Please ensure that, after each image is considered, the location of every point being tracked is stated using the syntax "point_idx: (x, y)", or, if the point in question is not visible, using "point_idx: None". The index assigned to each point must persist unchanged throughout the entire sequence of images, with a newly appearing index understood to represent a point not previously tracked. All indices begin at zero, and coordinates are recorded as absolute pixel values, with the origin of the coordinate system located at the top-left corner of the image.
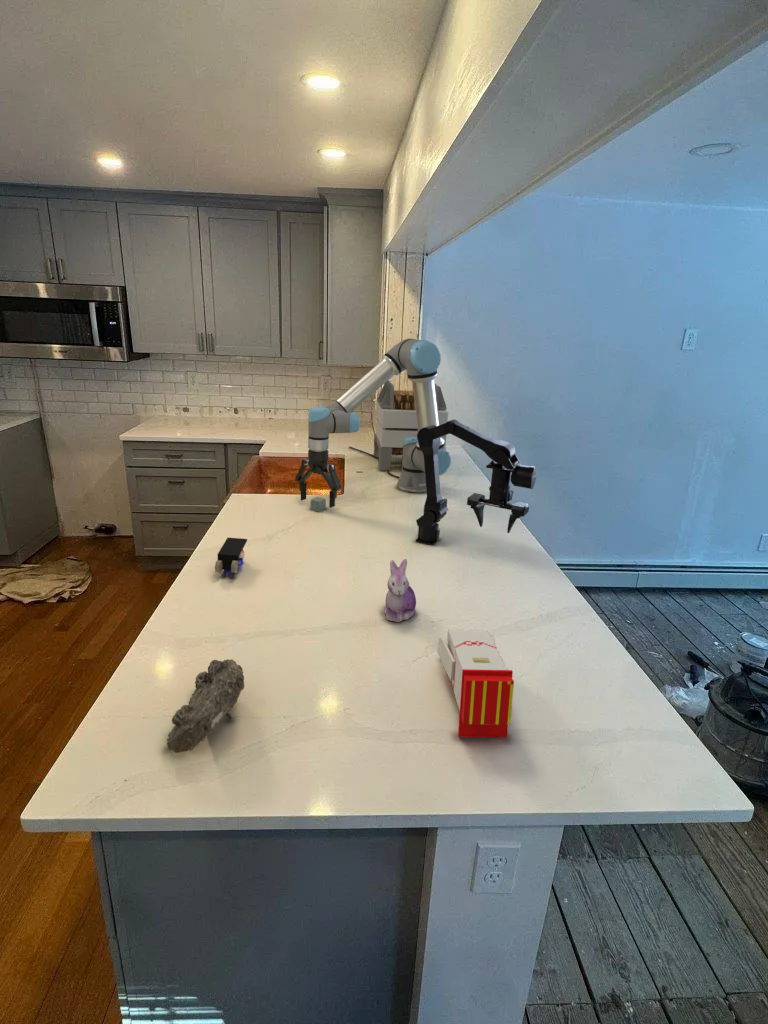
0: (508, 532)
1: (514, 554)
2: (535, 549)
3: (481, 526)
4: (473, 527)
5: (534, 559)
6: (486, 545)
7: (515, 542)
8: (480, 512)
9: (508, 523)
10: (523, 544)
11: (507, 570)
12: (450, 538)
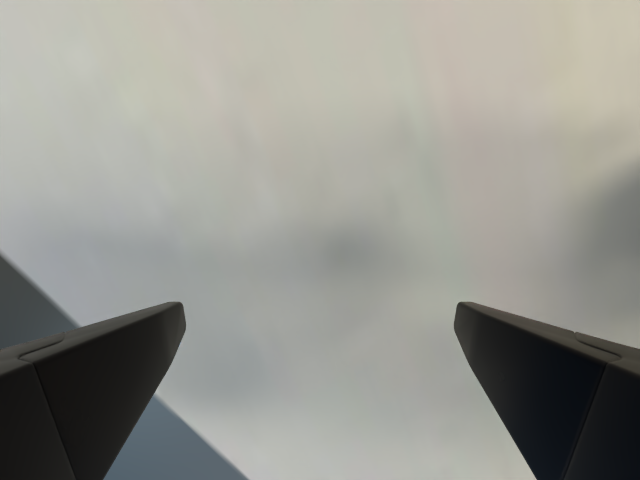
0: (167, 303)
1: (224, 306)
2: (170, 407)
3: (457, 309)
4: (503, 473)
5: (116, 305)
6: (388, 330)
7: (278, 428)
8: (595, 416)
9: (92, 339)
10: (238, 427)
11: (156, 71)
12: (592, 310)
